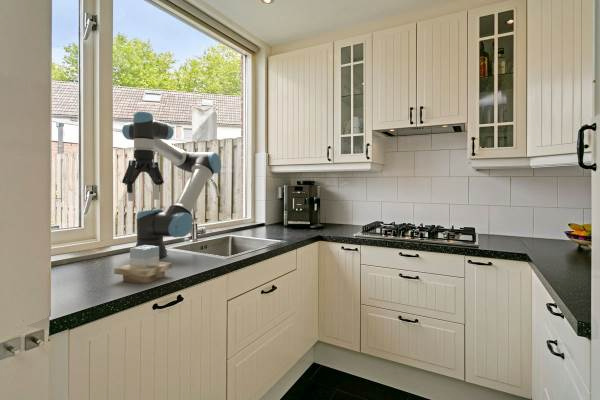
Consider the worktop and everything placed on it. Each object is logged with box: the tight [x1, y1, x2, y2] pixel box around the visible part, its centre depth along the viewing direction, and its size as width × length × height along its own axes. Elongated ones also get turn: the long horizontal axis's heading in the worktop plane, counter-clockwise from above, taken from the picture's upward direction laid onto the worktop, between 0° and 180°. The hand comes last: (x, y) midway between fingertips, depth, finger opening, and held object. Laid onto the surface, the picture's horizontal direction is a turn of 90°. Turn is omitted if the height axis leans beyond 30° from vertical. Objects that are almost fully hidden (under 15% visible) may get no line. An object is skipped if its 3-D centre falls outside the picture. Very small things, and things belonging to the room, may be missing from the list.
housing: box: [129, 245, 160, 269], centre depth 123 cm, size 9×7×7 cm
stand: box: [113, 261, 173, 285], centre depth 123 cm, size 14×14×5 cm
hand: (144, 200), depth 138 cm, fingers open, 13 cm apart
